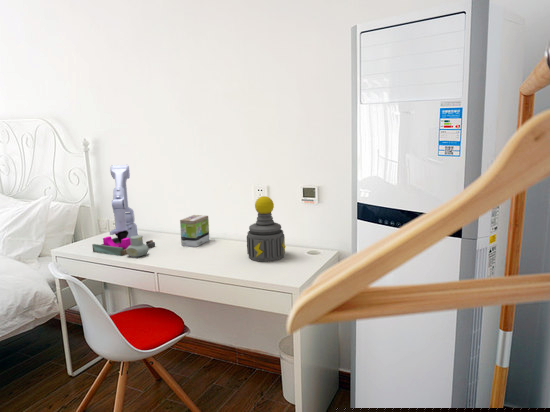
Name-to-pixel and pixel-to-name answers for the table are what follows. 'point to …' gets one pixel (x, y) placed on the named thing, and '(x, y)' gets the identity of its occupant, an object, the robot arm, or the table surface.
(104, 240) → the toy block
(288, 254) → the table surface
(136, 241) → the air freshener
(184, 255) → the table surface
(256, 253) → the decorative lamp
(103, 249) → the trap channel
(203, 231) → the tea box
